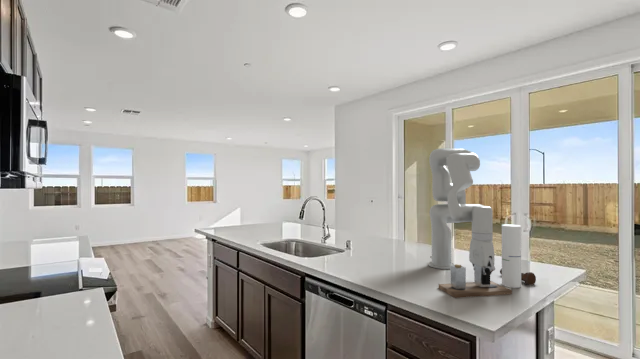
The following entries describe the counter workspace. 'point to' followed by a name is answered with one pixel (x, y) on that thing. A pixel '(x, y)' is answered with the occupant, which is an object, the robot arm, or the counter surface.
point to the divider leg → (479, 276)
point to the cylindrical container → (511, 255)
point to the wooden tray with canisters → (469, 286)
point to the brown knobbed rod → (527, 278)
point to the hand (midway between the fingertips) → (482, 282)
